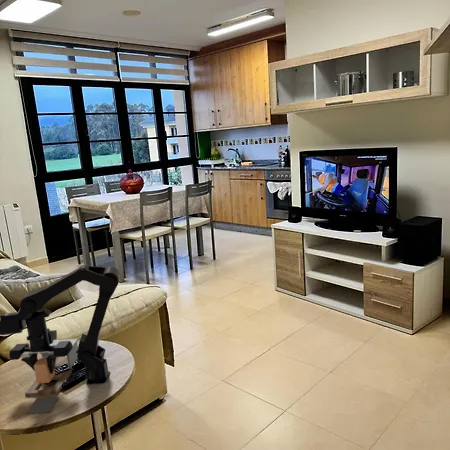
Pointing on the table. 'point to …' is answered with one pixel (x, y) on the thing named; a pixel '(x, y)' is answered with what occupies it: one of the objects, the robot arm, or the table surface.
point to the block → (43, 371)
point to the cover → (72, 354)
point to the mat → (42, 405)
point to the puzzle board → (60, 377)
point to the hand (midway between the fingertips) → (45, 373)
